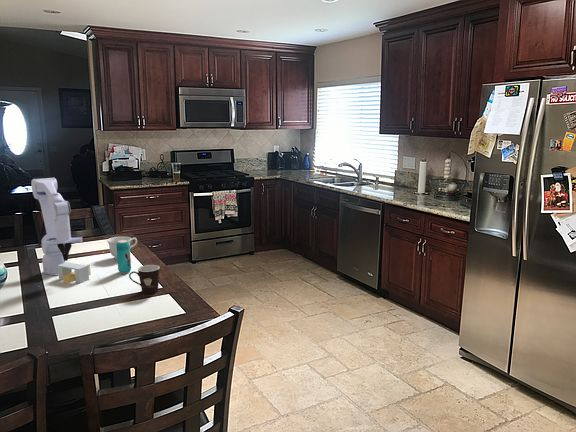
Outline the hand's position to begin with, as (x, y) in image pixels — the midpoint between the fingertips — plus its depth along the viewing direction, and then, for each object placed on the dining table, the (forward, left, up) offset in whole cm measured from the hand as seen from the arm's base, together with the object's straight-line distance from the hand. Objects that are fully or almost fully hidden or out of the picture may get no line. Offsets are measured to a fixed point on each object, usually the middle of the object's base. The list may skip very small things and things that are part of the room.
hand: (65, 260), depth 204 cm
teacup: (-3, +38, -10) cm, 39 cm away
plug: (0, +5, -10) cm, 11 cm away
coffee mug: (+39, +5, -10) cm, 40 cm away
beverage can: (+14, +20, -10) cm, 26 cm away
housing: (0, +3, -10) cm, 10 cm away
